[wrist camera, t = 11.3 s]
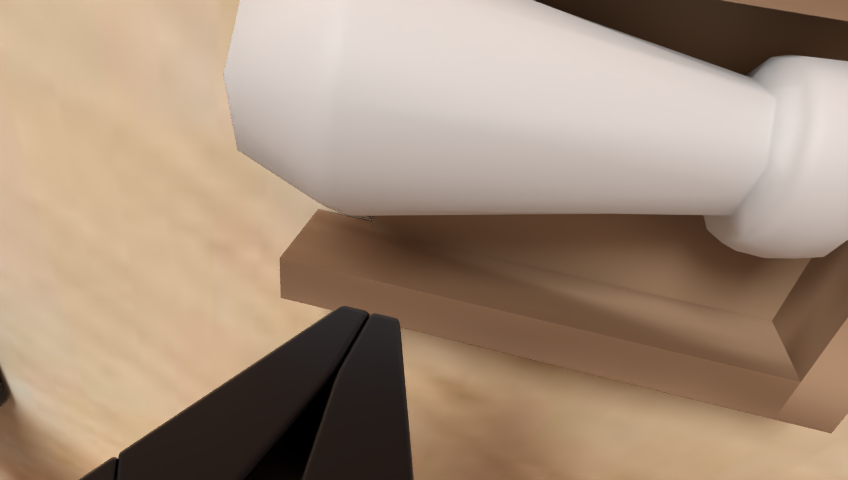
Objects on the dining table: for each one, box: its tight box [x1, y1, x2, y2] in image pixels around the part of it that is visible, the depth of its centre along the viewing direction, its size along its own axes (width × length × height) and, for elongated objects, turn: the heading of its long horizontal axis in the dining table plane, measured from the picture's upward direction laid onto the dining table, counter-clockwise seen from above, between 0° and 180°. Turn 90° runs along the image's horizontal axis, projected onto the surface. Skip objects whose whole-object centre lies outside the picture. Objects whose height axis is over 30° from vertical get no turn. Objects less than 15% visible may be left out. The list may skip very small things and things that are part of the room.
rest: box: [280, 0, 848, 433], centre depth 14 cm, size 12×16×3 cm
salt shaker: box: [223, 0, 848, 259], centre depth 12 cm, size 6×6×13 cm
